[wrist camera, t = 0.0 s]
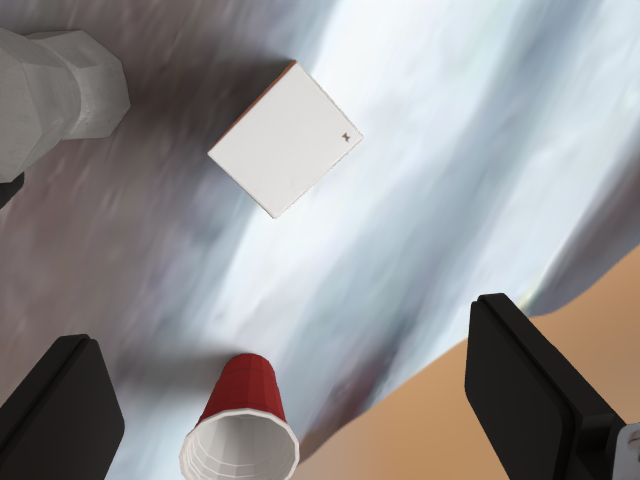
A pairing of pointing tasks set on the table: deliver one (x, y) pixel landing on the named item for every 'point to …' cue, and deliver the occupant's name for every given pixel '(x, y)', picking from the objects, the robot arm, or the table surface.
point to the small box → (285, 141)
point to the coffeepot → (53, 97)
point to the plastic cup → (242, 428)
